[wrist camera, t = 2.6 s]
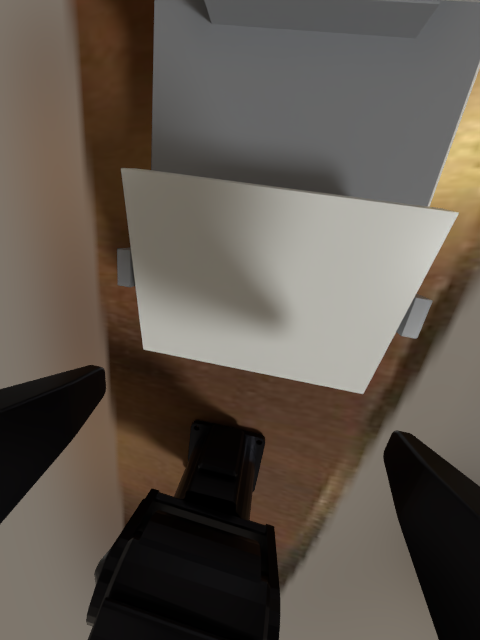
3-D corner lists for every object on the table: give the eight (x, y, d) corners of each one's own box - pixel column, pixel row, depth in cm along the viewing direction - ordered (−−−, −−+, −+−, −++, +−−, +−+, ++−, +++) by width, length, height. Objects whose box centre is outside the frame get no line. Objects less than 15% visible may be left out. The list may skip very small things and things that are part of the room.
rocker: (355, 371, 13) (363, 394, 12) (157, 332, 14) (143, 349, 13) (433, 206, 9) (458, 212, 8) (144, 168, 10) (120, 168, 9)
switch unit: (361, 369, 18) (409, 446, 12) (155, 329, 20) (92, 376, 13) (564, -211, 10) (1209, -1222, 3) (172, -203, 11) (10, -865, 4)
